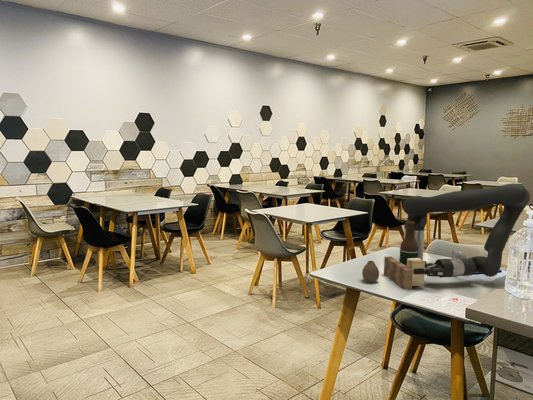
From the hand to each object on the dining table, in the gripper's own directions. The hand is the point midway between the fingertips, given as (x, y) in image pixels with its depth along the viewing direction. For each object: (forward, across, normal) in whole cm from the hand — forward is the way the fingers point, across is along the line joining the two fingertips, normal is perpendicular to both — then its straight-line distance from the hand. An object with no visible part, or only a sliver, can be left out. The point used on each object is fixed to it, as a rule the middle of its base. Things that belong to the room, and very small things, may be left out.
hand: (410, 269), depth 165 cm
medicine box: (-33, -18, +8) cm, 38 cm away
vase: (+13, -9, +8) cm, 18 cm away
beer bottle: (-8, -16, +8) cm, 20 cm away
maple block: (-2, 0, +6) cm, 6 cm away
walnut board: (+2, -8, +7) cm, 11 cm away
